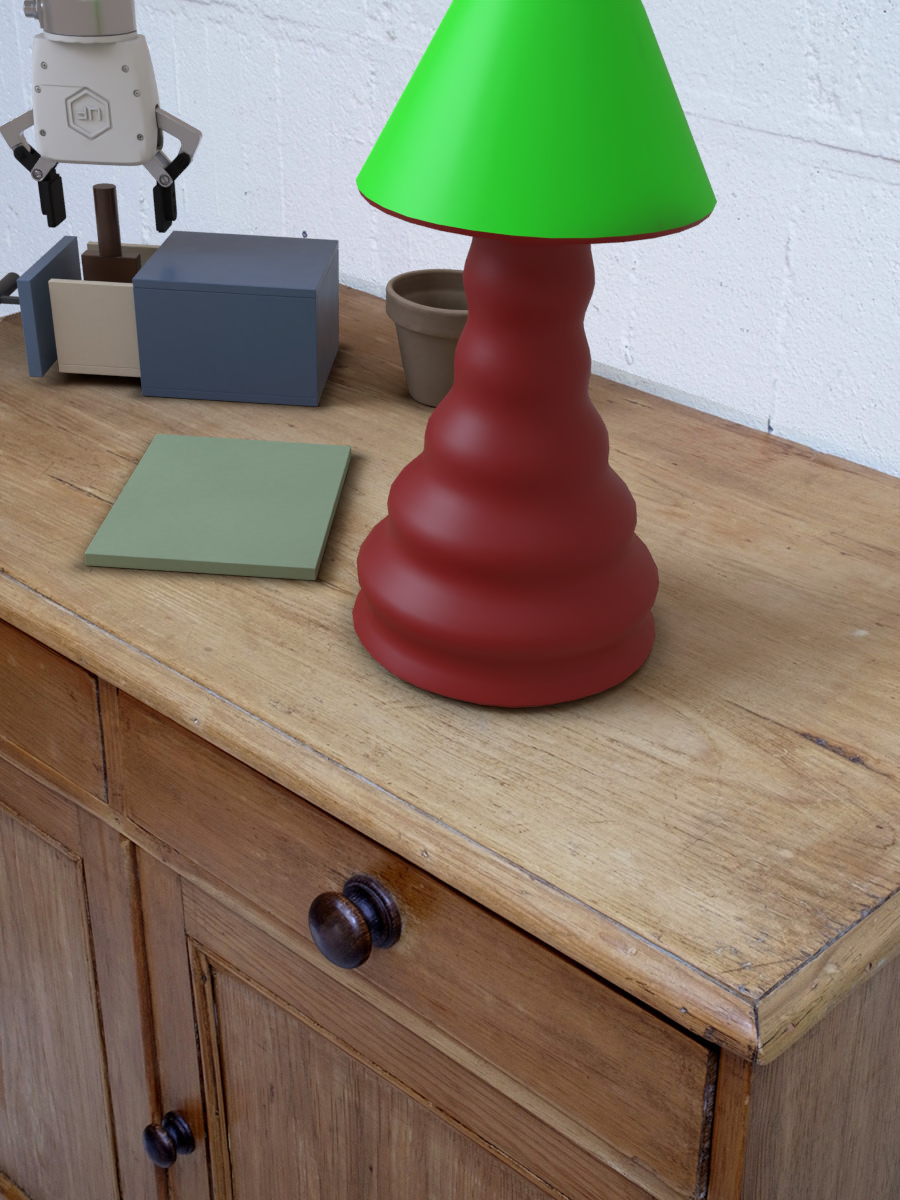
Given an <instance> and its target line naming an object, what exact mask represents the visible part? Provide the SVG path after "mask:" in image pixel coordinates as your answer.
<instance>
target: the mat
mask: <svg viewBox="0 0 900 1200" xmlns="http://www.w3.org/2000/svg"><path fill="white" fill-rule="evenodd" d="M351 459H352V446H351V445H342V444H327V443H326V444H325V443H310V442H309V443H308V442H297V441H296V442H293V441H281V440H280V441H279V440H278V441H277V440H264V439H263V440H261V439H246V438H245V439H244V438H231V437H216V436H215V437H214V436H200V435H199V436H198V435H185V434H184V435H183V434H181V435H180V434H169V433H167V434H166V433H156V434H155V436H154V437H153V439H152V440H151V443H150V444H149V445H148V447H147V449H146V451H145V452H144V453H143V456H142V457H141V459H140V461H139V463H138V464H137V466H136V467H135V469H134V470H133V472H132V474H131V476H130V477H129V479H128V480H127V482H126V483H125V486H124V487H123V489H122V491H121V492H120V493H119V495H118V497H117V499H116V500H115V502H114V504H113V505H112V507H111V508H110V510H109V512H108V514H107V515H106V517H105V519H104V521H103V522H102V524H101V525H100V526H99V528H98V530H97V532H96V534H95V535H94V537H93V539H92V540H91V542H90V543H89V544H88V546H87V548H86V550H85V552H84V561H85V566H90V567H103V568H104V567H105V568H117V569H119V568H120V569H137V570H150V571H164V572H165V571H166V572H179V573H180V572H181V573H182V572H183V573H197V574H212V575H226V576H227V575H228V576H241V577H242V576H243V577H256V578H257V577H258V578H269V579H270V578H271V579H286V580H287V579H288V580H300V581H301V580H302V581H303V580H304V581H316V580H317V578H318V574H319V570H320V568H321V563H322V560H323V556H324V553H325V551H326V547H327V542H328V539H329V535H330V532H331V530H332V525H333V523H334V519H335V518H334V517H335V515H336V512H337V508H338V504H339V501H340V499H341V498H340V497H341V494H342V491H343V486H344V483H345V480H346V477H347V473H348V471H349V467H350V466H349V465H350V463H351Z"/></svg>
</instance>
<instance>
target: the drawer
mask: <svg viewBox="0 0 900 1200" xmlns="http://www.w3.org/2000/svg"><path fill="white" fill-rule="evenodd" d="M161 245H162V244H160V245H158V244H143V243H142V244H141V243H128V242H127V243H124V242H121V247H122V252H131V253H140V256H141V268H142V267H143V266H144V265H145V263H146V262H147V261H148V260H149V259H150V258H151V256H152V255H153V254H154V253H155V252H156V250H157V249H158V248H159V247H160V246H161ZM86 250H97V251H99V246H98V241H91V240H90V241H88V242H87V243H86ZM80 259H81V258H80V251H79V241H78V236H76V235H64V236H62V238H61V239H59V240H58V241H57V242H56V243H55V244H54V245H53V246H52V247H50V249H48V250H47V251H46V252H45V253H44V254H43V255H42V256H40V258H39V259H37V260H36V261H35V262H34V263H33V264H32V265H31V266H30V267H29V268H28V269H27V270H25V271H24V272H23V274H21V275H19V274H18V273H16V272H14V271H10V272H8V273H6V275H4V276H3V277H2V278H1V279H0V305H18V306H19V309H20V317H21V324H22V331H23V339H24V346H25V347H24V348H25V354H26V362H27V369H28V376H29V378H43V377H44V376H45V375H46V374H47V373H48V371H49V370H50V369H51V368H52V367H53V366H54V365H55V364H56V363H58V364H57V365H58V372H59V373H65V374H66V373H67V374H80V375H81V374H83V375H99V376H113V377H115V376H116V377H117V376H118V377H132V378H141V375H140V363H139V352H138V340H137V329H136V317H135V306H134V294H133V288H134V287H133V283H117V282H100V281H84V279H83V277H82V269H81V268H82V267H81V261H80ZM16 290H17V294H18V295H17V296H16V295H12V294H13V293H14V292H15V291H16Z"/></svg>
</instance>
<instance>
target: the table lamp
mask: <svg viewBox="0 0 900 1200" xmlns="http://www.w3.org/2000/svg"><path fill="white" fill-rule="evenodd" d="M355 183H356V187H357V190H358V192H359V194H360V196H361V197H362V198H363V199H364V200H365V202H367V204H368V205H370V206H372V207H373V208H375V209H377V210H379V211H380V212H382V213H384V214H386V215H388V216H391V217H393V218H396V219H399V220H400V221H404V222H406V223H409V224H413V225H417V226H420V227H424V228H428V229H432V230H435V231H440V232H444V233H450V234H455V235H461V236H466V237H471V238H472V239H471V241H470V242H471V243H470V246H469V249H468V252H467V256H466V258H465V260H464V265H463V270H464V271H463V285H464V290H465V294H466V299H467V304H468V318H467V322H466V324H465V327H464V329H463V331H462V334H461V336H460V338H459V340H458V344H457V347H456V350H455V357H454V383H453V386H452V388H451V390H450V391H449V393H448V394H447V395H446V396H445V397H444V399H443V400H442V401H441V402H440V403H439V404H438V406H437V407H434V409H433V411H432V412H431V414H430V416H429V418H428V419H427V423H426V427H425V431H424V440H423V449H422V451H421V452H420V454H418V455H417V456H416V457H415V458H413V459H412V460H411V461H410V462H408V463H407V464H406V465H405V466H404V467H403V468H402V469H401V470H400V472H399V473H398V475H397V476H396V478H395V479H394V480H393V481H392V483H391V485H390V488H389V493H388V496H387V503H386V507H387V515H386V516H385V517H384V518H382V519H381V520H380V521H378V522H377V523H376V524H375V525H374V526H373V527H372V528H371V530H370V531H369V533H368V534H367V536H366V537H365V539H364V540H363V542H362V543H361V544H360V547H359V549H358V553H357V557H356V572H357V581H358V585H359V587H360V590H359V591H358V593H357V595H356V598H355V601H354V604H353V608H352V611H351V612H352V613H351V615H352V623H353V629H354V631H355V633H356V635H357V637H358V639H359V641H360V643H361V644H362V646H363V647H364V648H365V650H366V651H367V652H368V653H369V654H370V656H371V657H372V658H373V659H374V661H376V662H377V663H378V664H380V665H381V666H382V667H383V668H384V669H386V670H387V671H388V672H390V673H391V674H392V675H394V676H395V677H396V678H397V679H398V680H402V681H403V682H405V683H408V684H410V685H412V686H414V687H416V688H419V689H421V690H423V691H426V692H430V693H433V694H436V695H438V696H442V697H445V698H448V699H453V700H458V701H460V702H461V701H462V702H466V703H470V704H475V705H480V706H487V707H488V706H491V707H499V708H510V709H516V708H517V709H519V708H534V707H535V708H536V707H545V706H552V705H559V704H562V703H569V702H573V701H577V700H580V699H584V698H587V697H591V696H595V695H597V694H600V693H603V692H605V691H607V690H609V689H611V688H613V687H616V686H618V685H620V684H621V683H622V682H624V681H626V680H627V679H628V678H630V676H632V674H634V673H635V672H636V671H638V669H640V668H641V667H642V665H644V663H645V661H646V659H647V658H648V656H649V655H650V653H651V652H652V649H653V646H654V642H655V639H656V624H655V623H656V622H655V617H654V615H653V612H652V609H653V608H654V606H655V601H656V599H657V596H658V595H657V594H658V591H659V588H660V587H659V586H660V577H659V568H658V566H657V563H656V561H655V560H654V558H653V555H652V554H651V552H650V550H649V548H648V545H646V543H645V542H644V541H643V540H642V539H641V538H640V537H639V535H638V534H637V533H636V532H635V530H636V528H637V523H638V513H637V512H638V511H637V502H636V500H635V498H634V497H633V494H632V492H631V490H630V488H629V486H628V485H627V483H626V482H625V480H623V478H622V477H621V476H620V475H619V474H618V473H617V472H616V471H615V470H614V469H613V468H612V467H611V465H610V462H609V457H610V437H609V435H610V434H609V431H608V429H607V426H606V423H605V421H604V420H603V417H602V416H601V414H600V413H599V411H598V409H597V408H596V406H595V404H594V403H593V402H592V399H591V398H590V394H589V387H590V381H591V380H590V379H591V373H592V354H591V349H590V345H589V342H588V338H587V335H586V330H585V318H586V313H587V311H588V307H589V305H590V302H591V300H592V298H593V294H594V292H595V291H594V290H595V286H596V271H595V264H594V258H593V253H592V245H601V244H602V245H603V244H617V243H618V244H619V243H629V242H636V241H637V242H638V241H645V240H652V239H658V238H661V237H667V236H670V235H675V234H679V233H683V232H684V231H687V230H690V229H692V228H695V227H697V226H699V225H701V224H702V223H703V222H704V221H705V220H707V219H709V218H710V217H711V215H712V213H713V211H714V209H715V208H716V206H717V203H718V200H717V198H716V195H715V192H714V190H713V187H712V184H711V182H710V179H709V176H708V173H707V171H706V168H705V166H704V163H703V160H702V157H701V155H700V152H699V149H698V147H697V143H696V141H695V138H694V136H693V134H692V131H691V128H690V125H689V123H688V120H687V117H686V115H685V111H684V110H683V107H682V104H681V101H680V99H679V96H678V93H677V91H676V88H675V86H674V83H673V80H672V77H671V75H670V72H669V69H668V66H667V64H666V60H665V59H664V55H663V53H662V51H661V48H660V45H659V42H658V39H657V36H656V34H655V32H654V29H653V26H652V24H651V22H650V19H649V16H648V13H647V11H646V8H645V6H644V4H643V1H642V0H452V1H451V2H450V5H449V6H448V8H447V10H446V12H445V13H444V15H443V18H442V19H441V21H440V23H439V25H438V27H437V29H436V30H435V33H434V34H433V36H432V38H431V40H430V41H429V43H428V45H427V47H426V48H425V51H424V53H423V55H422V56H421V58H420V60H419V62H418V64H417V66H416V68H415V69H414V71H413V73H412V75H411V76H410V79H409V80H408V82H407V84H406V86H405V88H404V89H403V91H402V93H401V95H400V97H399V99H398V100H397V102H396V104H395V106H394V108H393V110H392V111H391V114H390V115H389V117H388V119H387V121H386V122H385V124H384V127H383V128H382V130H381V132H380V134H379V135H378V138H377V139H376V141H375V143H374V145H373V147H372V149H371V151H370V153H369V154H368V156H367V158H366V159H365V162H364V164H362V167H361V169H360V171H359V172H358V174H357V176H356V178H355Z"/></svg>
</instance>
